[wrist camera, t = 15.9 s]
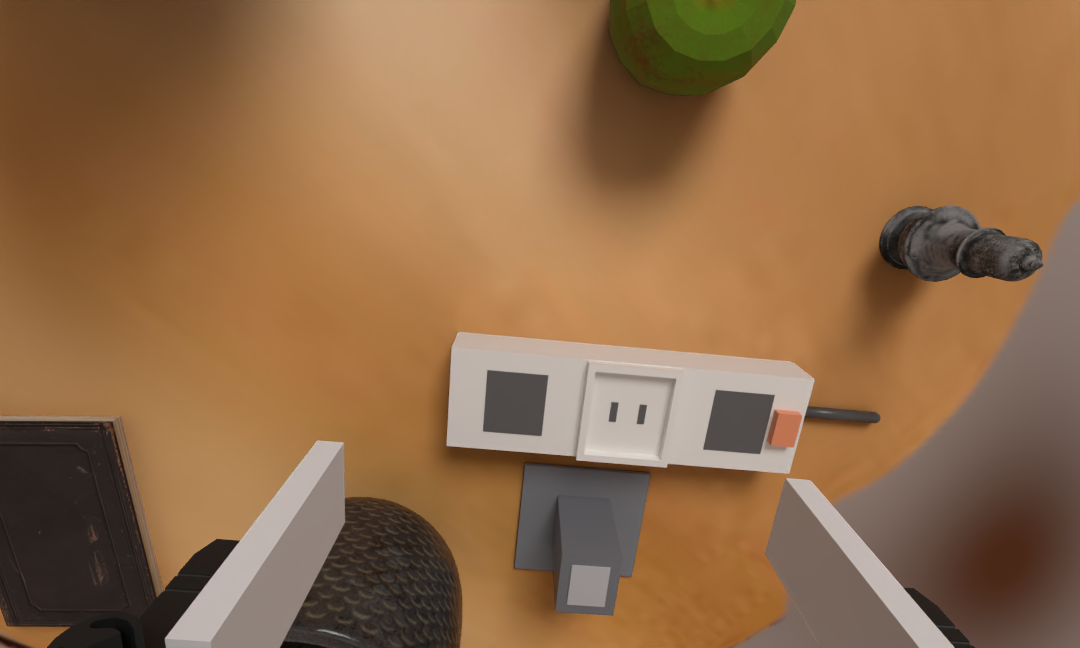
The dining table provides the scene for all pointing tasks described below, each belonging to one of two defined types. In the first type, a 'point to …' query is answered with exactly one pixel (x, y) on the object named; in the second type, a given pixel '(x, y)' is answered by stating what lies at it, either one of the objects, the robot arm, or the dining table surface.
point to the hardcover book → (71, 522)
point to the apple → (694, 40)
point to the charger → (585, 556)
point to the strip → (629, 403)
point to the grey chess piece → (955, 246)
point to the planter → (382, 585)
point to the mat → (584, 482)
